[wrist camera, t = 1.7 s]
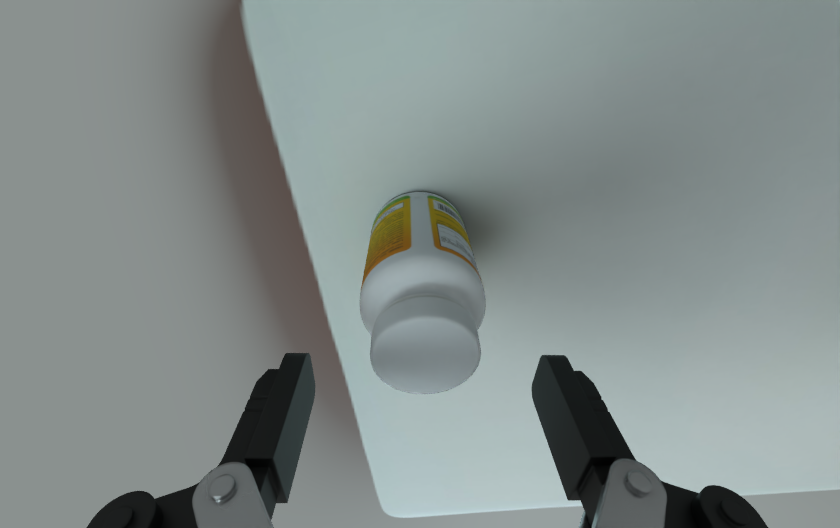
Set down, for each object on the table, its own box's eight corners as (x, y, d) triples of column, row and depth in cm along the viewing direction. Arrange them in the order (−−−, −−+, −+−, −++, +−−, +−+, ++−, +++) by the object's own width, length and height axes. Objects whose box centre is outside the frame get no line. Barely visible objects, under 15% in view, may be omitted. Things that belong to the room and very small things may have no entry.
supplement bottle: (374, 271, 22) (355, 408, 14) (369, 188, 19) (341, 301, 11) (460, 271, 22) (491, 406, 14) (468, 189, 19) (512, 300, 11)
